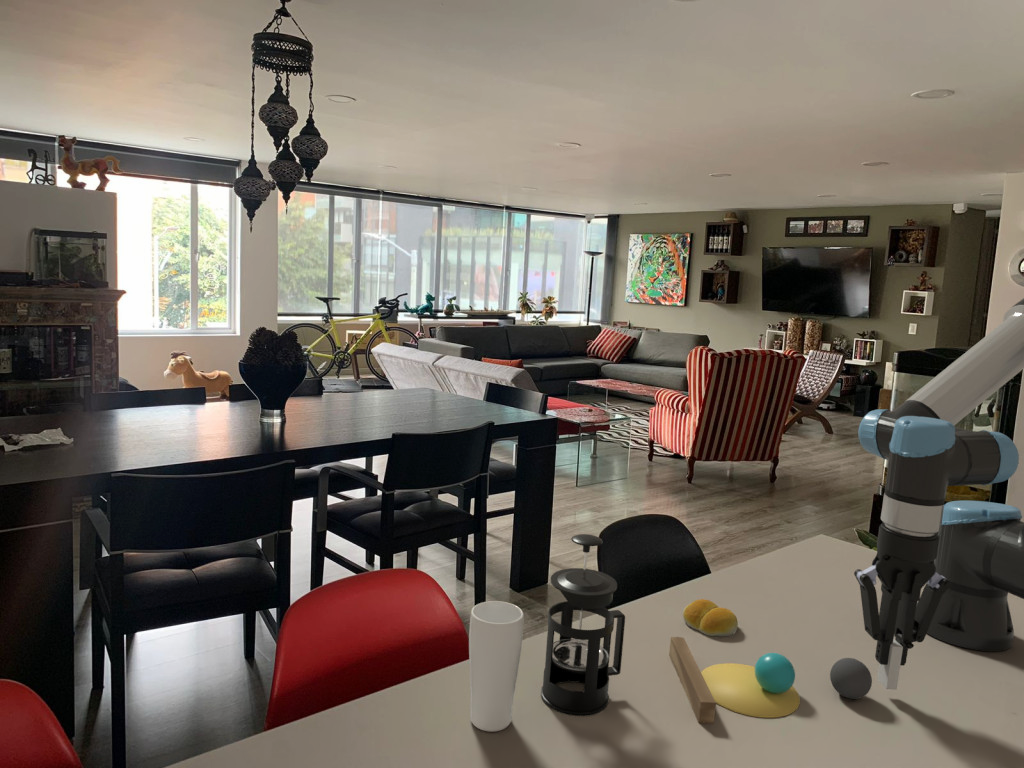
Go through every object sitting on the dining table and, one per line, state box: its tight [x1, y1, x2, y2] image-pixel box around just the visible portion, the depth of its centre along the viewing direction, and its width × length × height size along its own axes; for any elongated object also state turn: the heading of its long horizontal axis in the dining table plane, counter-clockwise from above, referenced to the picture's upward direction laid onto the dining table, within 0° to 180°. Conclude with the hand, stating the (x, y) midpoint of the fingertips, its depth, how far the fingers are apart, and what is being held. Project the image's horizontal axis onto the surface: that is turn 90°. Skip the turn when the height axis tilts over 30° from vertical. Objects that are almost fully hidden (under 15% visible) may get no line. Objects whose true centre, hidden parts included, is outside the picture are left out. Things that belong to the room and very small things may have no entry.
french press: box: [540, 533, 626, 717], centre depth 104 cm, size 12×9×23 cm
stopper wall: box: [668, 636, 717, 725], centre depth 110 cm, size 2×18×3 cm, turn 1°
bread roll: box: [682, 598, 739, 637], centre depth 130 cm, size 8×9×4 cm
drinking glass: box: [468, 600, 524, 733], centre depth 97 cm, size 7×7×15 cm
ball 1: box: [754, 652, 796, 694], centre depth 110 cm, size 6×6×6 cm
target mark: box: [700, 662, 801, 719], centre depth 110 cm, size 14×14×1 cm
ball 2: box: [829, 657, 873, 700], centre depth 110 cm, size 6×6×6 cm
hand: (886, 684), depth 110 cm, fingers closed
